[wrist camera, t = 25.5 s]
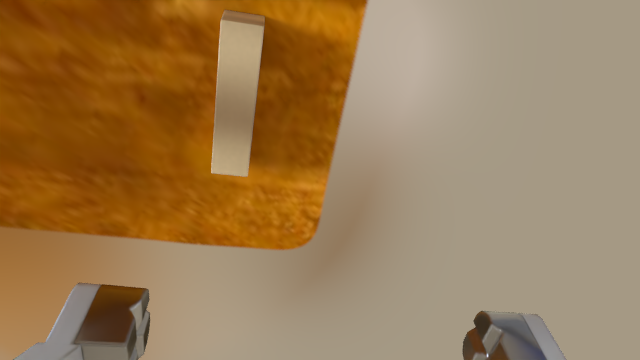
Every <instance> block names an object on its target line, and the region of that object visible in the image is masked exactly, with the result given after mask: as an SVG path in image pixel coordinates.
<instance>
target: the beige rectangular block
mask: <svg viewBox="0 0 640 360" xmlns="http://www.w3.org/2000/svg"><path fill="white" fill-rule="evenodd" d="M264 24H265V16H260V15H254V14H248V13H241V12H235V11H229V10H224V13H223V16H222V18H221V23H220V39H219V55H218V71H217V87H216V103H215V119H214V135H213V151H212V167H211V173H215V174H225V175H234V176H244V177H247V176H248V169H249V160H250V151H251V142H252V133H253V124H254V115H255V106H256V97H257V88H258V79H259V70H260V61H261V52H262V43H263V34H264Z"/></svg>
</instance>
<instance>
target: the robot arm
mask: <svg viewBox="0 0 640 360" xmlns="http://www.w3.org/2000/svg"><path fill="white" fill-rule="evenodd" d="M148 302H149V290H148V289H146V288H135V287H124V286H113V285H100V284H99V285H98V284H88V283H78V284H77V285H76V286H75V287H74V288H73V290H72V291H71V293H70V295H69V297H68V299H67V301H66V303H65V305H64V307H63V309H62V311H61V313H60V315H59V317H58V318H57V321H56V322H55V324H54V326H53V328H52V330H51V332H50V334H49V336H48V338H47V340H46V342H45V343H36V344H35V345H33V346H32V347H30V348H29V349H28V350H26V351H25V352H23V353H22V354H20V355H19V356H18V357H16V358H15V359H13V360H138V359H139V358H140V357H141V356H142V355H143V354H144V352H145V348H146V344H147V340H148V334H149V327H150V313H149V312H148V311H147V310H146V309H147V306H148ZM474 324H475V326H476V327H475V328H474V329H472V330H470V331H469V332H467V334H466V337H465V339H464V341H463V357H464V360H566V358H565V356H564V355H563V353H562V351H561V350H560V348H559V346H558V345H557V343H556V341H555V340H554V338H553V336H552V335H551V333H550V331H549V330H548V328H547V326H546V325H545V323H544V321H543V320H542V318H541V317H540V316H538V315H537V314H523V313H509V312H508V313H507V312H489V311H481V312H479V313H478V314H477V315H476V317H475V319H474Z"/></svg>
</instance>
